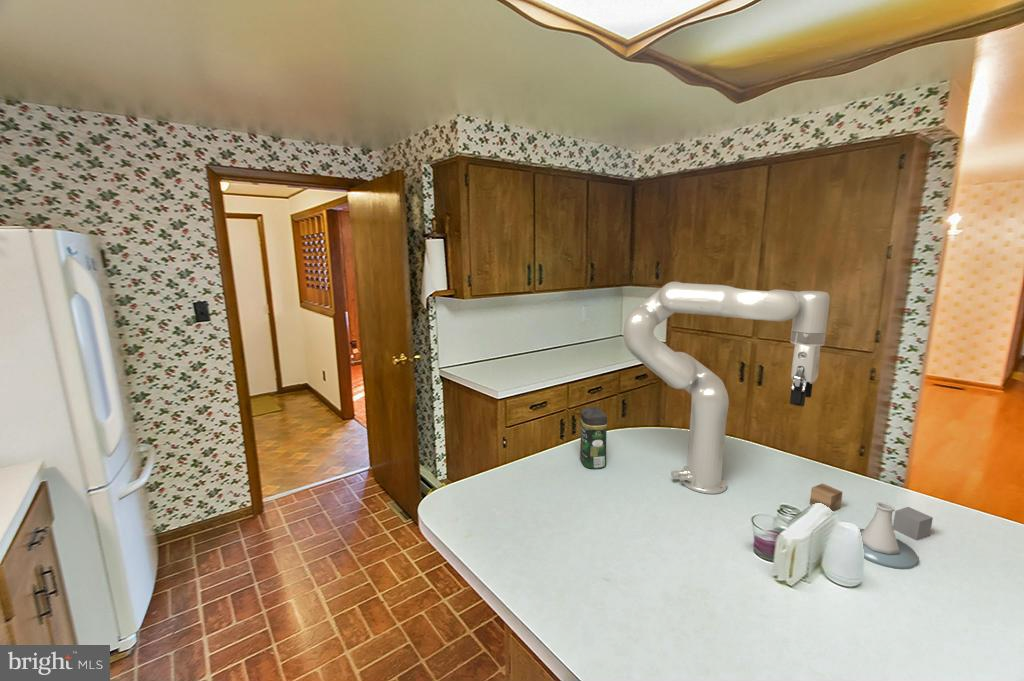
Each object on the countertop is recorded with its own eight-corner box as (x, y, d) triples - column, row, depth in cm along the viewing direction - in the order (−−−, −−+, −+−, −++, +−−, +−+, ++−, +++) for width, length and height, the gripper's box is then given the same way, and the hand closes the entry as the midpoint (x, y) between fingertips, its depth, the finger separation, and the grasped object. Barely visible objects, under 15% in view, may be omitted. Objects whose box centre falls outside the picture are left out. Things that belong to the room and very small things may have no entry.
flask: (907, 557, 97) (914, 516, 95) (869, 553, 99) (875, 512, 97) (887, 537, 104) (894, 498, 102) (852, 533, 106) (858, 495, 104)
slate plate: (879, 571, 94) (879, 567, 94) (830, 534, 107) (830, 530, 107) (933, 566, 96) (934, 562, 96) (878, 530, 108) (879, 526, 108)
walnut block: (829, 513, 116) (831, 496, 115) (809, 504, 120) (811, 487, 119) (840, 508, 118) (842, 491, 117) (820, 499, 123) (822, 483, 122)
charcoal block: (916, 541, 104) (919, 521, 104) (892, 529, 109) (895, 510, 108) (929, 536, 106) (932, 517, 105) (905, 524, 111) (908, 506, 110)
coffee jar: (577, 457, 150) (578, 405, 147) (600, 456, 151) (601, 404, 147) (584, 470, 140) (586, 415, 137) (609, 469, 141) (610, 414, 138)
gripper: (819, 344, 107) (811, 412, 110) (829, 335, 120) (822, 395, 123) (783, 341, 112) (777, 405, 115) (797, 332, 125) (791, 390, 128)
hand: (800, 400), depth 119 cm, fingers open, 9 cm apart
